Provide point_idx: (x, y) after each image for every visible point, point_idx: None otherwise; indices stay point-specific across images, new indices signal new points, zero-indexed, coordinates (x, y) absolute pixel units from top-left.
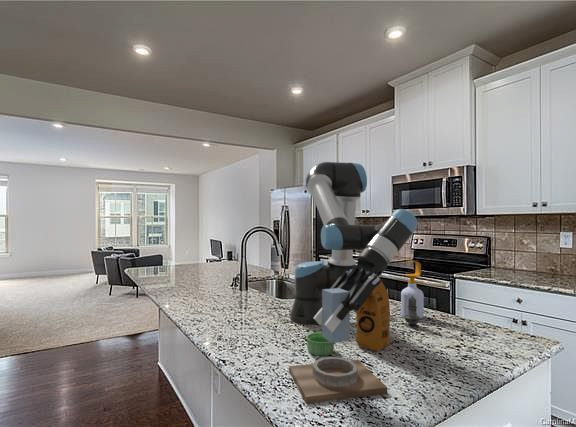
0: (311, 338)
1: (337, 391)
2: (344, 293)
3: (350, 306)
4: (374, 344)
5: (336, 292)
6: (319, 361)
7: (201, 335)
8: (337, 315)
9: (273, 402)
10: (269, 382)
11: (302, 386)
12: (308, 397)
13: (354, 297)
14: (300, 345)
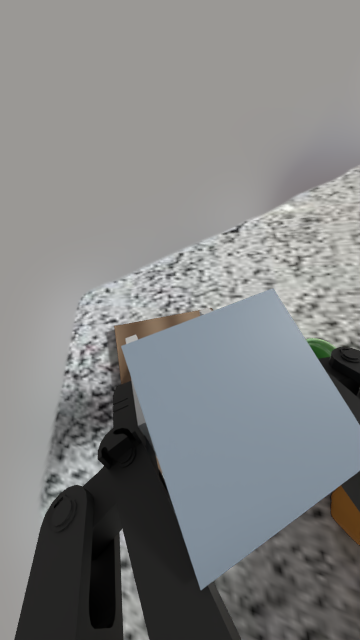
0: (324, 351)
1: (125, 376)
2: (171, 488)
3: (89, 483)
4: (343, 512)
5: (157, 393)
6: None
7: (312, 199)
8: (128, 385)
9: (124, 289)
10: (176, 284)
11: (145, 323)
12: (115, 330)
13: (62, 604)
14: (315, 334)
